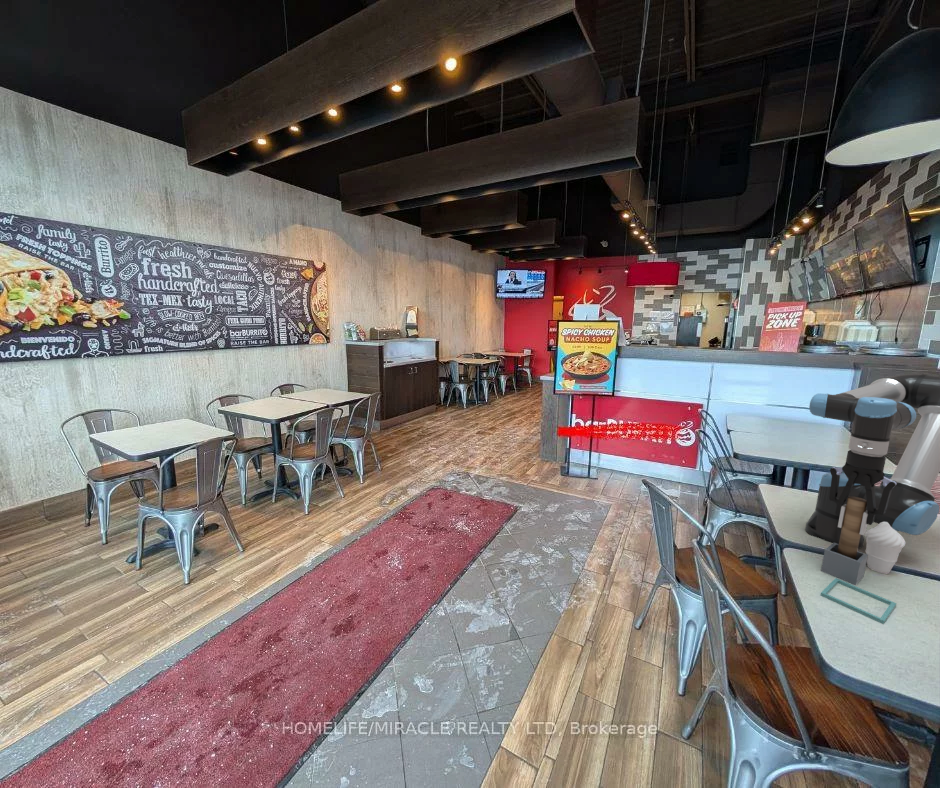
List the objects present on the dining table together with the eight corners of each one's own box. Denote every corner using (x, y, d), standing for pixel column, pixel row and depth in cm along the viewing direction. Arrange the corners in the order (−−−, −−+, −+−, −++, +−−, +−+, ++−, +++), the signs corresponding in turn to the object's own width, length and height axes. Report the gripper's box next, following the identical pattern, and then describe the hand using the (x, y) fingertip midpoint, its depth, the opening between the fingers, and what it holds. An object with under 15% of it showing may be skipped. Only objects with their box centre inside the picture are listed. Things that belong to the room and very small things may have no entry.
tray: (834, 583, 111) (835, 577, 110) (895, 609, 101) (896, 603, 100) (819, 598, 104) (820, 592, 104) (882, 627, 94) (884, 621, 94)
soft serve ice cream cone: (906, 582, 112) (918, 531, 109) (872, 578, 113) (883, 528, 111) (882, 565, 120) (892, 517, 117) (850, 561, 122) (860, 514, 119)
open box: (828, 566, 119) (833, 542, 118) (862, 579, 113) (868, 554, 111) (820, 573, 115) (824, 549, 114) (854, 588, 109) (860, 562, 107)
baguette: (839, 551, 116) (850, 495, 113) (857, 558, 112) (869, 500, 109) (834, 555, 114) (845, 498, 110) (853, 562, 110) (865, 503, 107)
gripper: (822, 446, 112) (809, 520, 117) (908, 464, 98) (890, 547, 102) (831, 442, 116) (818, 514, 121) (915, 459, 102) (897, 539, 106)
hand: (851, 529), depth 111 cm, fingers closed on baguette, 4 cm apart
